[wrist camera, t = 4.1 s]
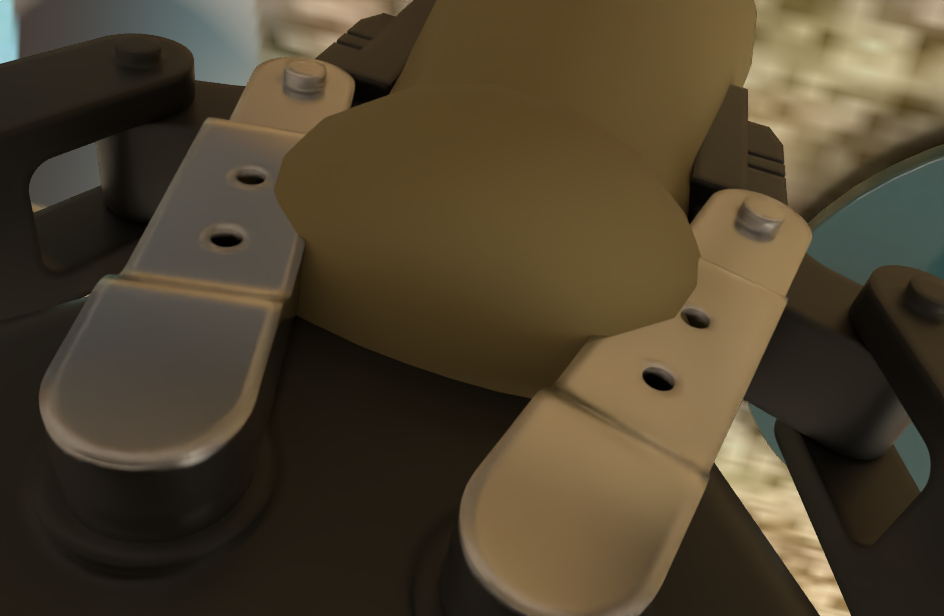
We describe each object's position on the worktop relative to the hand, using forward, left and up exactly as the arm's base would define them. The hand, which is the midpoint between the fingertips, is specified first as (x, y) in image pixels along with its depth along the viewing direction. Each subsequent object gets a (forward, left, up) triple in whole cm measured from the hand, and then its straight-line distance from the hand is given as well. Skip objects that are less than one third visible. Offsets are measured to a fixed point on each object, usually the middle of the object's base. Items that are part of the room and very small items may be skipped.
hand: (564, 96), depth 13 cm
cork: (0, 0, -3) cm, 3 cm away
